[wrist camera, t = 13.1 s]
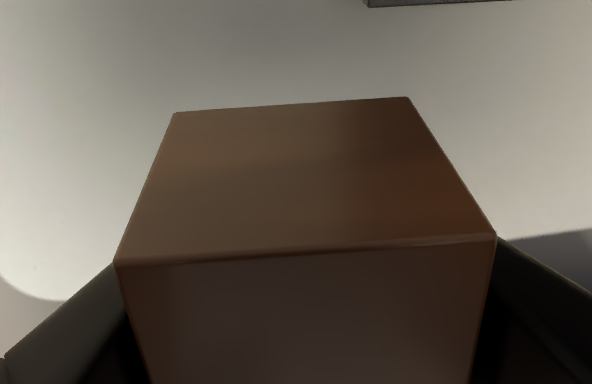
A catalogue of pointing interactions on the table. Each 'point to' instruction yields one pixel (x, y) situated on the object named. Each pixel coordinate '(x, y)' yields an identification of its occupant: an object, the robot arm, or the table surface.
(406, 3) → the laptop screen
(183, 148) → the block
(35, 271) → the table surface
